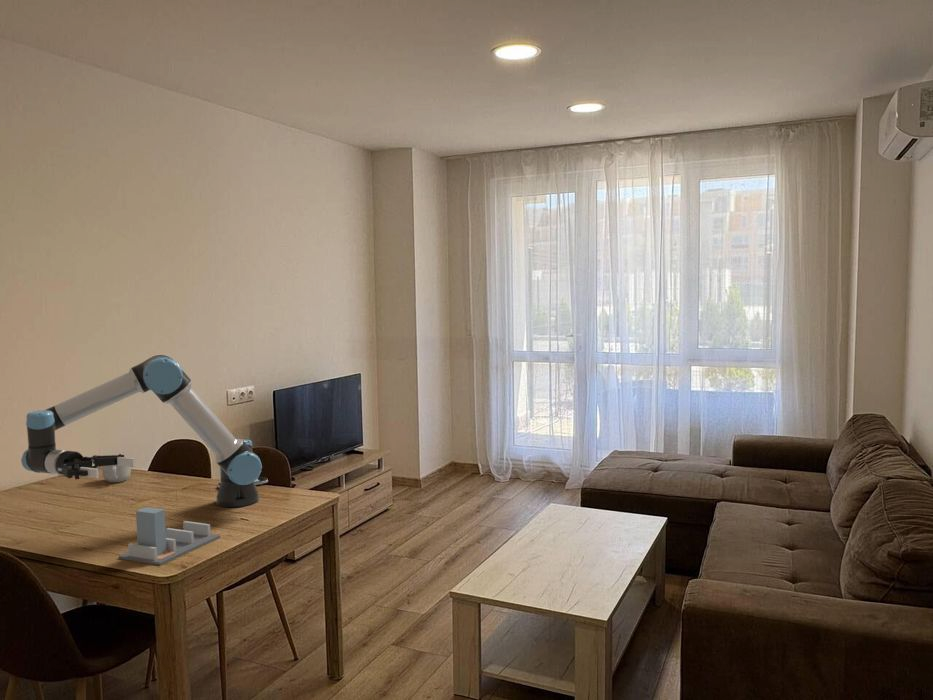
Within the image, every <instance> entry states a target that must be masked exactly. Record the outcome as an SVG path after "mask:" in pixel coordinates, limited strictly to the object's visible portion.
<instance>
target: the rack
mask: <svg viewBox="0 0 933 700" xmlns="http://www.w3.org/2000/svg"><path fill="white" fill-rule="evenodd" d="M182 524H183V525H182V528H183V529H179V528H178V529H177V528H171V527H167V528H166V549H167V552H166V553H164V554H161V555H159V556H157V547H151V546H144V545H138V543H128V545H127V548H128V551H127V552H123V553H122V554H119V555H118V559H120V560H126V561H131V562H139V563H143V564H144V563H145V564H150V565H154V566H155V565H156V566H162V565H165V564H166V563H169V562H171V561H174V560H176V559H178V558H179V557H182V556H184V555H186V554H188V553H191V552H193V551H195V550H197V549H199V548H202V547H203V546H205V545H207V544H210V543H211V542H215V541H216V540H219V539H221V535H220V534H216V533H215V534H214V533H211V524H210V523H209V524H208V523H204V522H195V521H189V520H188V521H187V520H184V521H182Z"/></svg>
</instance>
